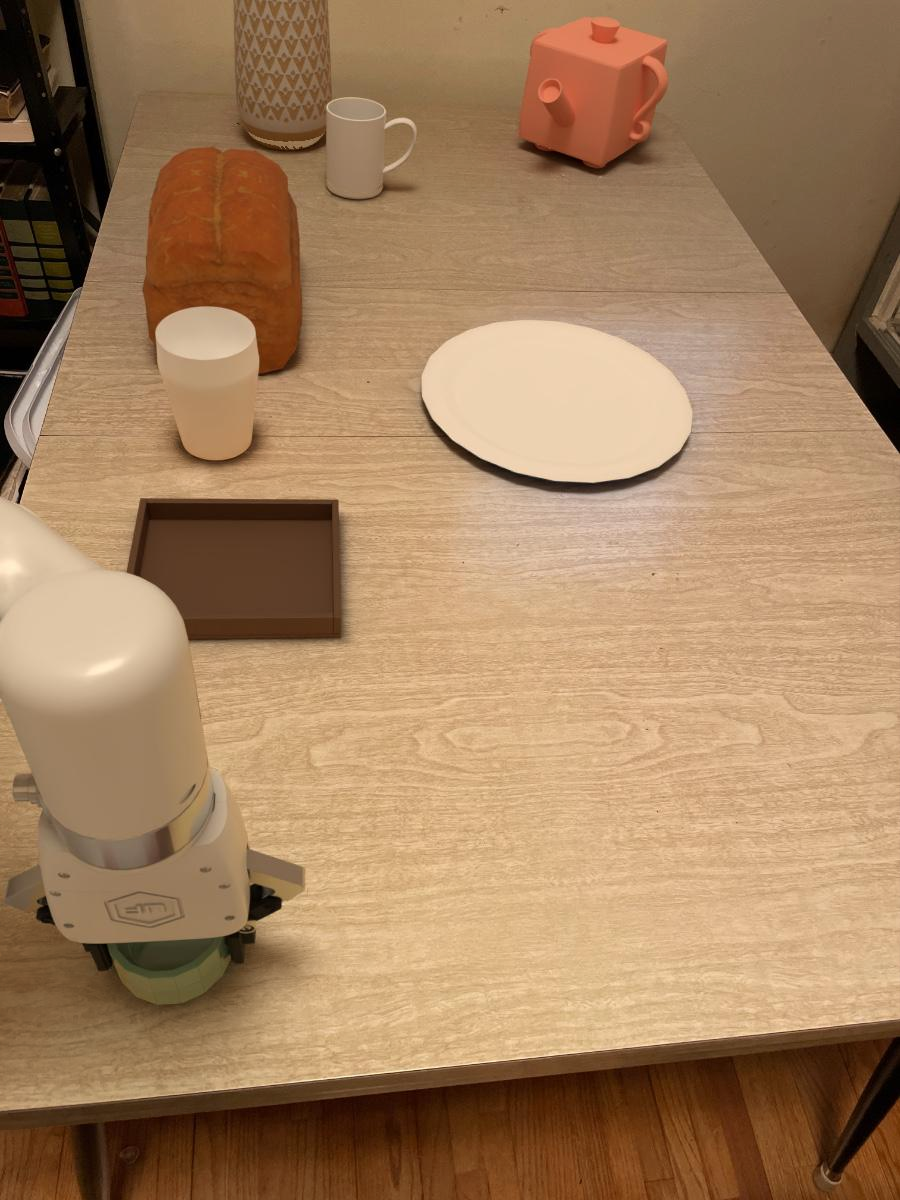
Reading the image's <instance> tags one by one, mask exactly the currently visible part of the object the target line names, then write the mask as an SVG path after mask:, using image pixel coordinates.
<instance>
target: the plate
mask: <svg viewBox="0 0 900 1200" xmlns="http://www.w3.org/2000/svg"><path fill="white" fill-rule="evenodd" d="M420 378H421V380H420V383H421V399H422V402H423V404H424V405H425V408H426V410H427V413H428V414H429V417H430V419H431V420H432V422H433V423H434V424H435V425H436V426H437V427H438V428H439V429H440V430H441V431H442V432H443V433H444V434H445V436H446V437H448V439H449V440H450V441H451V442H453V443H454V444H455V445H457V446H458V447H460V448H462V449H464V450H465V451H466V452H468V453H469V454H471V455H472V456H474V457H475V458H477V459H478V460H480V461H483V462H485V463H488V464H490V465H493V466H495V467H498V468H501V469H503V470H505V471H508V472H510V473H512V474H514V475H520V476H524V477H529V478H533V479H537V480H543V481H546V482H553V483H563V484H583V485H585V484H586V485H596V484H603V483H611V482H619V481H625V480H630V479H633V478H636V477H638V476H642V475H644V474H647V473H649V472H652V471H654V470H658V469H659V468H660V467H662V466H663V465H664V464H666V463H667V462H668V461H670V460H671V459H672V458H674V457H675V456H677V454H679V453H680V452H681V450H682V448H683V447H684V445H685V443H686V442H687V440H688V438H689V437H690V435H691V433H692V427H693V426H692V424H693V413H694V411H693V408H692V405H691V402H690V400H689V396H688V394H687V390H686V389H685V387H683V385H682V384H681V383H680V381H679V380H678V379H677V378H676V376H675V375H674V374H673V372H672V371H671V370H670V369H669V368H667V366H665V365H664V364H663V363H662V362H660V361H659V360H658V359H656V358H655V357H654V356H653V355H651V354H650V353H649V352H647V351H645V350H643V349H641V348H640V347H638V346H636V345H634V344H632V343H630V342H628V340H624V339H623V338H620V337H618V336H615V335H612V334H609V333H606V332H604V331H601V330H598V329H595V328H592V327H589V326H584V325H578V324H574V323H573V324H572V323H569V322H563V321H556V320H541V319H519V320H507V321H496V322H492V323H488V324H485V325H481V326H477V327H473V328H470V329H467V330H465V331H463V332H461V333H459V334H457V335H455V336H453V337H451V338H450V339H448V340H446V341H444V342H443V343H442V344H441V345H440V346H439V348H437V349H436V350H435V351H434V352H433V353H432V354H431V355H430V356H429V357H428V359H427V362H426V363H425V366H424V368H423V371H422V374H421V375H420Z"/></svg>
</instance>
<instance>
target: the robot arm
mask: <svg viewBox="0 0 900 1200" xmlns="http://www.w3.org/2000/svg"><path fill="white" fill-rule="evenodd" d="M126 572H127V571H126ZM126 572H125V571H121V570H115V569H107V568H106V567H104V566H103V565H102V564H101V563H99V562H97V561H96V560H95V559H94V558H92V557H90V556H89V555H87V554H86V553H85V552H83V551H82V550H80V549H79V548H78V547H76V546H75V545H74V544H73V543H71V542H70V541H69V540H67V539H66V538H64V537H63V536H62V535H60V533H58V532H57V531H56V530H54V529H53V528H52V527H50V526H49V525H48V524H47V522H45V520H44V519H42V518H41V517H40V516H39V515H38V514H36V513H35V512H34V511H32V510H31V509H29V508H28V507H26V506H24V505H22V504H19V503H17V502H13V501H11V500H9V499H7V498H5V497H3V496H0V699H1V702H2V704H3V706H4V707H3V708H4V709H5V711H6V714H7V716H8V719H9V721H10V724H11V726H12V728H13V731H14V733H15V736H16V738H17V740H18V743H19V745H20V747H21V750H22V753H23V755H24V758H25V760H26V762H27V765H28V767H29V769H30V772H25V773H24V772H23V773H16V774H15V775H14V778H13V782H12V789H11V790H12V797H13V800H14V802H16V803H21V802H22V803H23V802H24V803H25V802H29V803H30V804H31V805H37V808H42V810H41V813H40V816H39V819H38V823H37V850H38V863H39V864H38V865H37V864H36V865H35V866H33V867H31V868H29V869H27V870H24V871H23V872H21V873H19V874H17V875H14V876H13V877H11V878H9V879H8V881H7V885H6V891H5V893H4V897H3V903H4V904H5V905H6V906H9V907H12V908H13V909H14V908H15V909H17V910H20V911H23V912H24V913H28V914H31V913H34V914H35V919H36V920H37V921H38V922H41V923H42V924H45V925H46V924H47V925H48V924H49V925H52V926H55V927H56V928H57V930H58V931H59V932H60V934H61V935H62V936H63V937H65V938H66V939H67V940H69V941H72V942H76V943H79V944H81V945H82V947H83V949H84V952H85V953H90V955H91V958H92V959H93V961H94V964H95V967H96V968H97V971H98V972H108V971H109V970H110V969H112V968H113V965H114V963H113V960H112V958H111V956H110V953H109V949H108V946H107V943H127V942H149V941H168V940H185V939H201V938H213V937H221V936H226V935H227V939H228V945H229V950H230V955H231V960H230V962H231V963H233V962H234V964H235V965H241V964H244V963H245V951H246V950H245V949H246V945H252V944H253V945H254V944H256V940H257V939H256V936H257V924H258V923H257V922H258V921H260V920H262V919H264V918H266V917H268V916H270V915H272V914H274V913H276V912H278V911H280V910H281V909H282V907H283V903H284V902H289V901H291V900H293V898H295V897H297V896H299V895H300V894H302V893H303V892H305V891H306V868H305V867H304V866H301V865H299V864H296V863H292V862H290V861H287V860H284V859H281V858H278V857H275V856H272V855H269V854H266V853H263V852H259V851H257V850H254V849H251V847H250V846H251V845H250V839H249V836H248V832H247V828H246V824H245V821H244V817H243V815H242V813H241V810H240V807H239V804H238V802H237V800H236V798H235V795H234V794H233V792H232V790H231V788H230V786H229V785H228V783H227V781H226V780H225V779H224V777H223V776H222V775H221V773H220V772H219V770H217V769H216V768H214V767H210V761H209V755H208V749H207V744H206V743H207V742H206V737H205V731H204V726H203V717H202V712H201V707H200V702H199V701H200V700H199V695H198V689H197V682H196V677H195V671H194V666H193V665H194V664H193V658H192V653H191V652H192V651H191V647H190V646H191V645H190V640H189V639H188V637H187V633H186V628H185V624H184V621H183V618H182V617H181V615H180V613H179V611H178V609H177V607H176V605H175V604H174V603H173V602H172V600H171V599H170V598H169V597H168V596H167V595H166V594H165V593H164V592H163V591H162V590H161V589H159V588H158V587H157V586H156V585H154V584H152V583H150V582H148V581H147V580H145V579H143V578H141V577H138V576H135V575H132V574H129V573H126Z"/></svg>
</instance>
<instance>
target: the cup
mask: <svg viewBox="0 0 900 1200" xmlns="http://www.w3.org/2000/svg"><path fill="white" fill-rule="evenodd" d="M155 335H156V346H157V347H156V346H155V347H156V362H157V368H158V371H159V374H160V378H161V381H162V384H163V388H164V390H165V393H166V396H167V400H168V402H169V406H170V409H171V413H172V415H173V418H174V421H175V425H176V427H177V431H178V434H179V437H180V440H181V442H182V446H183V447H184V449H185V450H186V451H187V452H188V454H190V455H192V456H194V457H196V458H198V459H202V460H208V461H225V460H229V459H232V458H236V457H238V456H240V455H242V454H243V453H245V452H246V451H247V450H248V449H249V447H250V446H251V444H252V441H253V431H254V422H255V421H254V420H255V412H256V401H257V390H258V383H259V382H258V381H259V373H258V372H259V354H258V348H257V341H256V332H255V327H254V325H253V324H252V322H251V321H250V320H249V319H248V318H247V317H245V316H244V315H242V314H240V313H238V312H236V311H233V310H229V309H226V308H220V307H209V306H204V307H193V308H187V309H183V310H180V311H177V312H175V313H172V314H170V315H169V316H167V317H166V318H164V319H163V320H162V321H161V322H160V323H159V324H158V326H157V328H156V332H155Z"/></svg>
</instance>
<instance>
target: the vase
mask: <svg viewBox="0 0 900 1200" xmlns="http://www.w3.org/2000/svg"><path fill="white" fill-rule="evenodd" d="M232 2H233V3H232V4H233V43H234V46H233V47H234V48H233V49H234V51H233V52H234V80H235V81H234V84H235V85H234V86H235V96H236V105H237V110H238V115H239V118H240V121H241V123H242V126H243V127H244V129H245V130H246V132H247V131H248V132H250V133H251V134H253V135H255V136H257V137H260V138H263V139H267V140H273V141H283V142H288V141H292V142H293V141H305V140H310V139H314V138H316V137H319V136H321V135H322V134H323V133H324V132H325V133H326V106H327V104H328V103H329V102H331V101H332V100H333V83H332V81H333V80H332V61H331V40H330V18H329V0H233V1H232ZM248 132H247V133H248ZM325 133H324V134H325ZM324 134H323V135H324ZM251 139H252V140H254V141H255V142H256V143H258V144H260V145H261V146H263V147H266V148H269V149H273V150H278V151H299V150H304V149H308V148H307V147H305V148H303V147H302V146H301V147H299V150H298V149H296V148H295V147H294V146H293V148H294V150H292V149H289V148H288V147H287V146H285V148H286V149H287V150H286V149H285V148H284V147H283V146H281V148H282V149H281V148H280V147H279V146H276V145H271V144H267V143H263V142H261V141H258V140H256V139H254V138H253V137H251ZM321 139H322V137H321V138H320V139H319V141H320V140H321ZM319 141H317V143H318V142H319ZM310 147H312V146H311V145H310Z"/></svg>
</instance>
